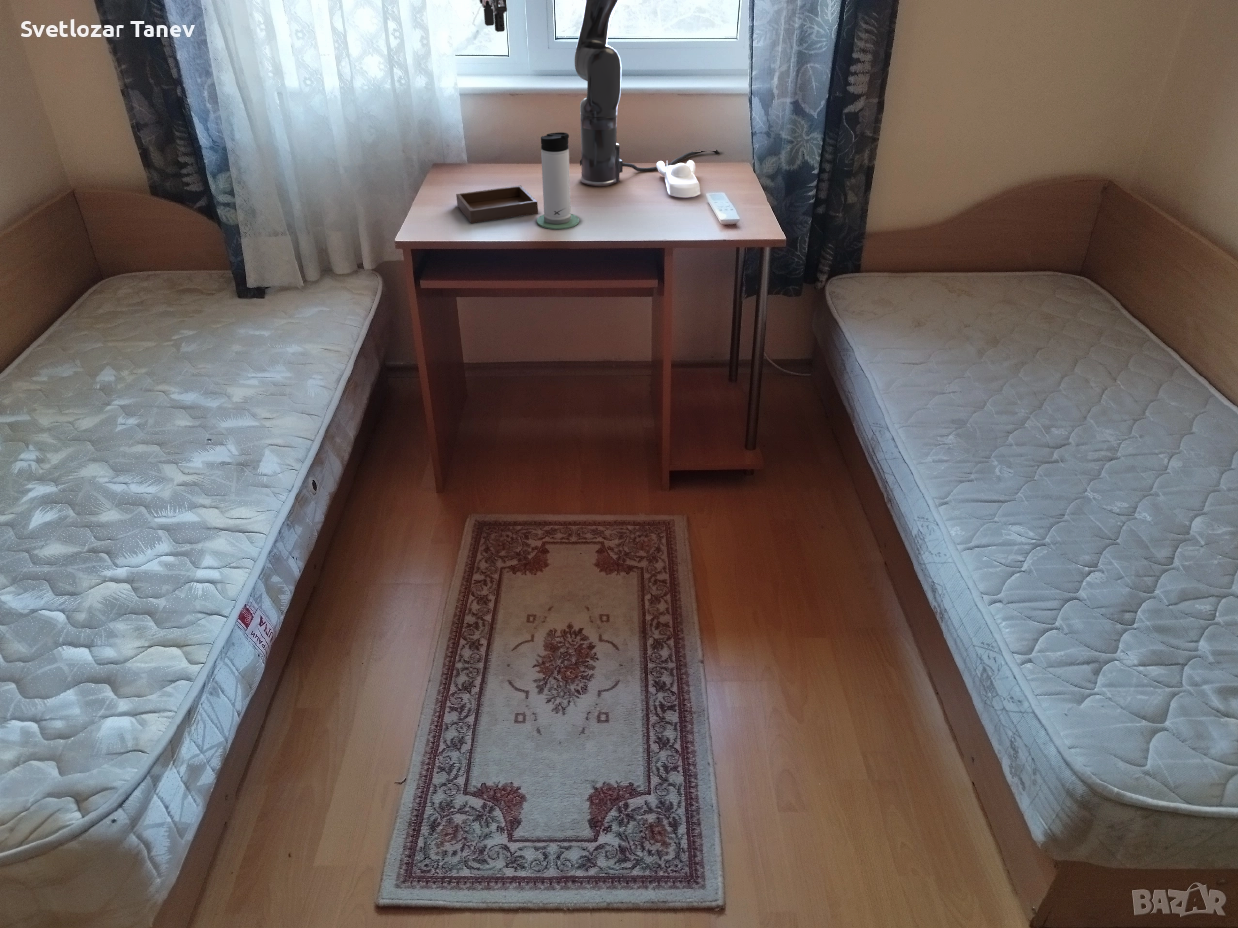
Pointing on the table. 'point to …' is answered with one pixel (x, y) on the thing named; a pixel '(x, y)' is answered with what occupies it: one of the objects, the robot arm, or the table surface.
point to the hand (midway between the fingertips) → (494, 28)
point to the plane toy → (680, 179)
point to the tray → (496, 204)
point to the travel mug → (556, 178)
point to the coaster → (571, 223)
